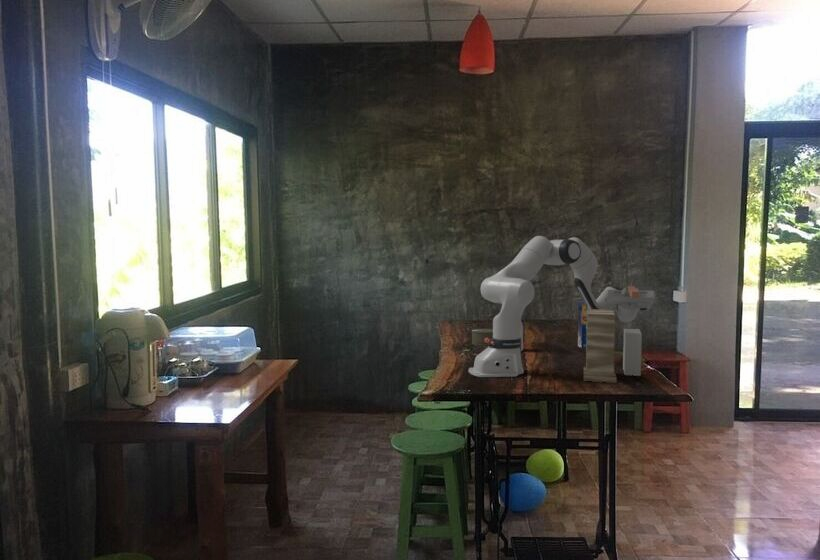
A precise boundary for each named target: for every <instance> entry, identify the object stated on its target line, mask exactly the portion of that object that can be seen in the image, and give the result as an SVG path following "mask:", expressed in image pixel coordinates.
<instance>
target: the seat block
mask: <svg viewBox="0 0 820 560" xmlns="http://www.w3.org/2000/svg"><path fill="white" fill-rule="evenodd" d="M642 336H643V334H642V332H641V329H639V328H623V345H622V346H623V353H622V356H623V357H622V370H624V371H623V373H624V376H632V375H633V376H636V377H640V376H641V374H642V342H643V341H642V339H643V337H642Z"/></svg>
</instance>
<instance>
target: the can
mask: <svg viewBox="0 0 820 560" xmlns="http://www.w3.org/2000/svg"><path fill="white" fill-rule="evenodd" d="M492 337H493V328H474V329H471V344H472V345H474V346H485V347H486V346H487V347H488V346H489V345H488V343H486V342H485V341H484V340H485V338H488V339H491V338H492Z"/></svg>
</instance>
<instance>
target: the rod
mask: <svg viewBox="0 0 820 560" xmlns="http://www.w3.org/2000/svg"><path fill="white" fill-rule="evenodd" d="M627 288H628V293H629V294H630V296H631V297H632V298H639V291H638V290H639V289H638V290H637V289H636V288H637V287H635V285H627Z"/></svg>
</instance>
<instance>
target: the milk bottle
mask: <svg viewBox="0 0 820 560" xmlns="http://www.w3.org/2000/svg"><path fill="white" fill-rule="evenodd" d="M520 338H521V351H520V352H522V351H524V325H523V322H522V321H521V324H520Z"/></svg>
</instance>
